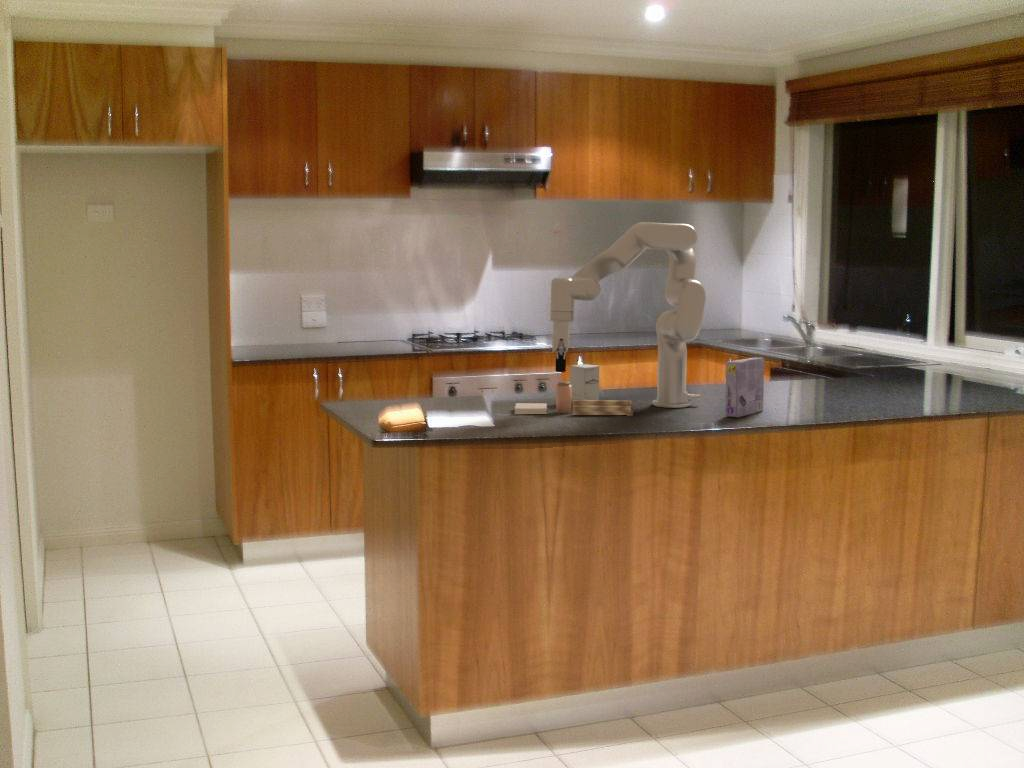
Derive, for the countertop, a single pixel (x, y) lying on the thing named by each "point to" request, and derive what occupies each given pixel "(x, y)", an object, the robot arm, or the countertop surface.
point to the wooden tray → (602, 407)
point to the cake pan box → (744, 387)
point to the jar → (564, 397)
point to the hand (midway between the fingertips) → (560, 369)
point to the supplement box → (584, 382)
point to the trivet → (530, 408)
